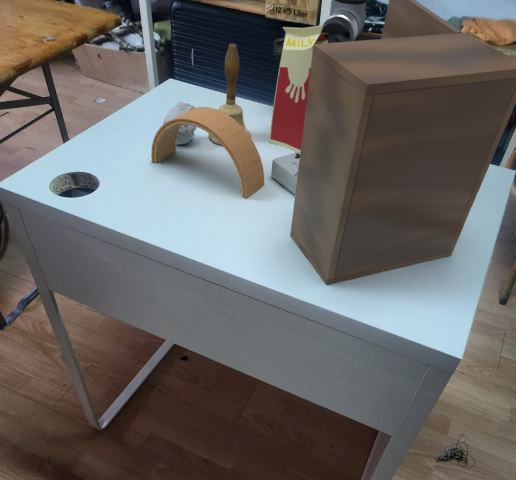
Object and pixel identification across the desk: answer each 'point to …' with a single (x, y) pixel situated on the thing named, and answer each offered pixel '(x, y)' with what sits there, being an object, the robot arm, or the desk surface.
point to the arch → (223, 132)
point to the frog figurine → (185, 130)
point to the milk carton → (293, 86)
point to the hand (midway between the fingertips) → (313, 68)
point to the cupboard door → (413, 21)
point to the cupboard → (396, 149)
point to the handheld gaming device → (286, 170)
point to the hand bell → (231, 89)
